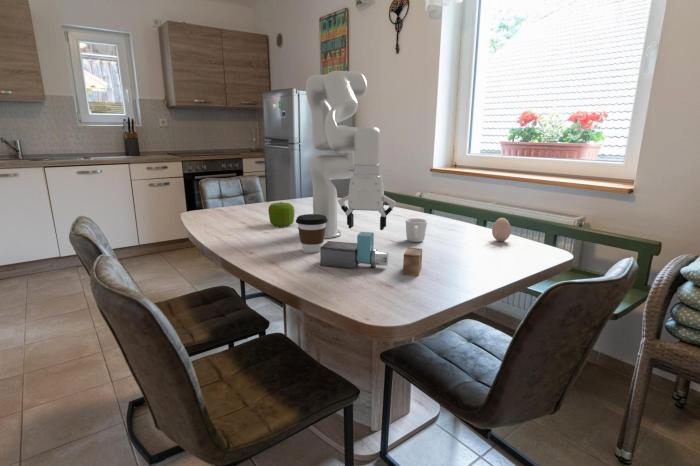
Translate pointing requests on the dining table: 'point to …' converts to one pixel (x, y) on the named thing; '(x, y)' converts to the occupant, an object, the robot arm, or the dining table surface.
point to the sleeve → (338, 255)
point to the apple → (281, 214)
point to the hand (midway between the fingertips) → (366, 228)
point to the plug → (369, 251)
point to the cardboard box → (412, 261)
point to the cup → (415, 229)
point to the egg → (501, 229)
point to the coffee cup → (311, 231)
